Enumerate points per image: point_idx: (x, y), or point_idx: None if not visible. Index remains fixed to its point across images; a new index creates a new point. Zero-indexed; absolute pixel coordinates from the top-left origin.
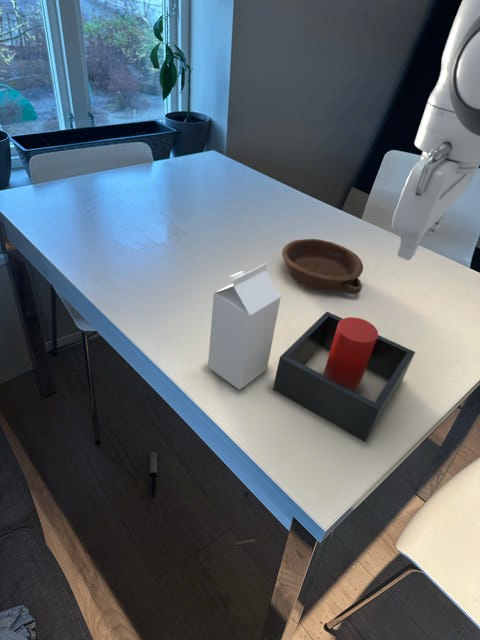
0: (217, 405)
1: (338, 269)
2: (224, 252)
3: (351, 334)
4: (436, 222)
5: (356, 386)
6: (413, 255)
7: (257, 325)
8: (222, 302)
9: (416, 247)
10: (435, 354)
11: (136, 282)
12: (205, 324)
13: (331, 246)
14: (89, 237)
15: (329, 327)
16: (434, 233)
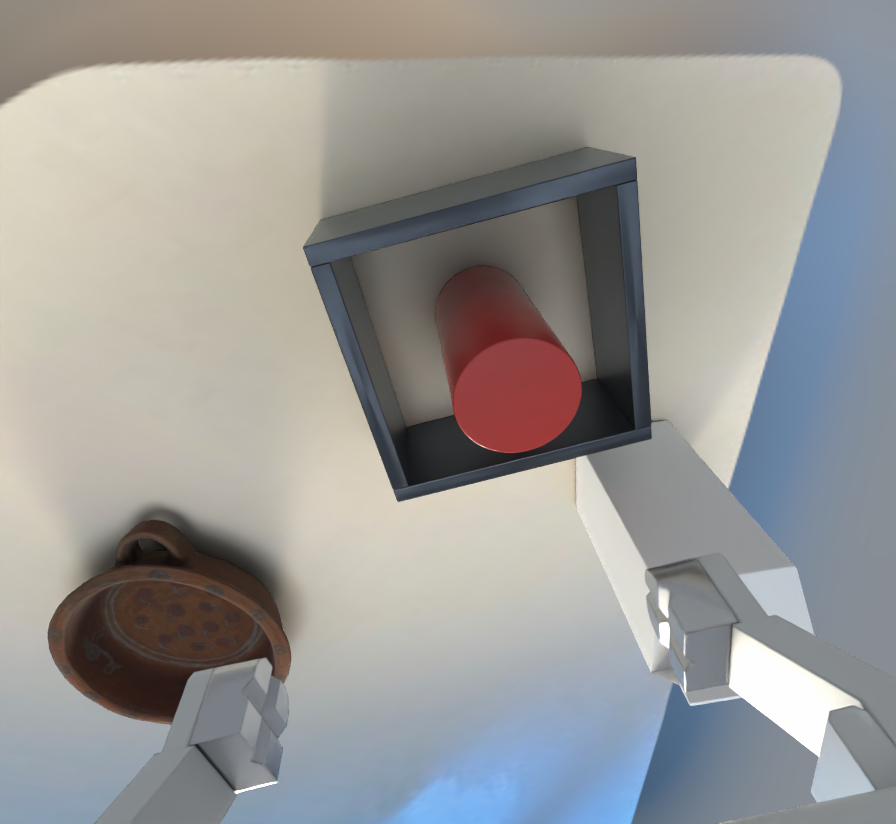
0: (726, 412)
1: (120, 607)
2: (351, 729)
3: (557, 393)
4: (205, 756)
5: (493, 277)
6: (684, 569)
7: (724, 533)
8: None
9: (716, 617)
10: (104, 229)
11: (576, 706)
12: (565, 581)
13: (95, 682)
14: (550, 813)
15: (405, 457)
16: (234, 670)
